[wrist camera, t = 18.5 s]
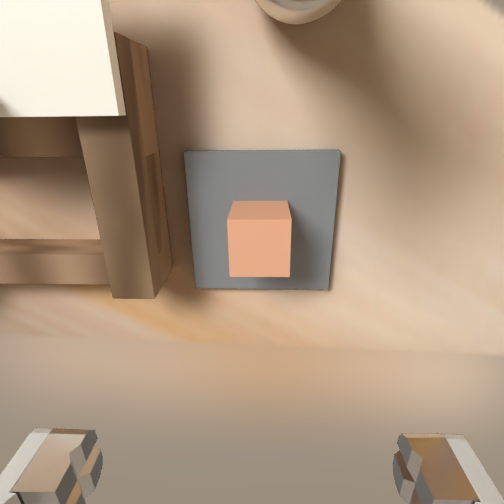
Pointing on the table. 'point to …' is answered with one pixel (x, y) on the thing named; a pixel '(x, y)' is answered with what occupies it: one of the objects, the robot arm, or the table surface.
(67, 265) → the wooden box
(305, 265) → the coaster
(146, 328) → the table surface
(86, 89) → the lid
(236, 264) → the block
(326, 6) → the plastic bottle
